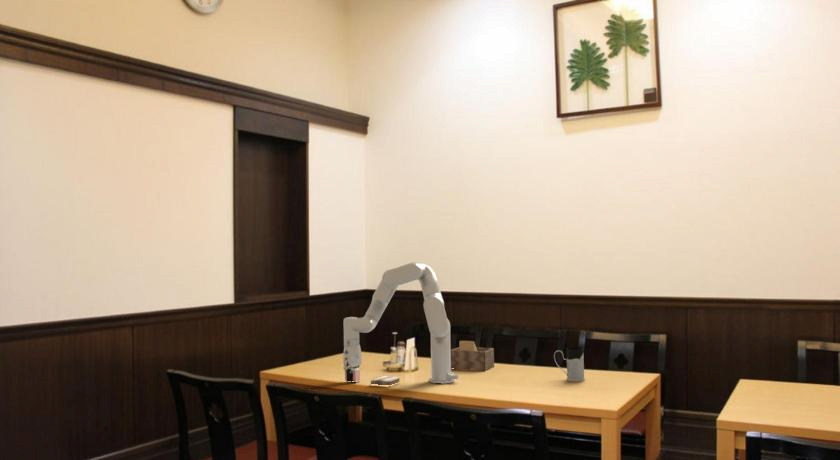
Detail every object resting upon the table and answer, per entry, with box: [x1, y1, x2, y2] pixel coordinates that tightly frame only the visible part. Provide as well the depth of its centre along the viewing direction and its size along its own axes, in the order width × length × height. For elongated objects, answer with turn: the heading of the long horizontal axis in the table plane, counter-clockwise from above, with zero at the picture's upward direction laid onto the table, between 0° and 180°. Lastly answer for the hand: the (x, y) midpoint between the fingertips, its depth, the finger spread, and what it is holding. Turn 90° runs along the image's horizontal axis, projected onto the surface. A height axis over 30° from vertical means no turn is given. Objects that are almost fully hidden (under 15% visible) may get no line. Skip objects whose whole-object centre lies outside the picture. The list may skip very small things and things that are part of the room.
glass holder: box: [553, 346, 586, 382], centre depth 319 cm, size 9×14×15 cm, turn 78°
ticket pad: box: [370, 375, 401, 385], centre depth 316 cm, size 10×10×3 cm
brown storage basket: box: [451, 347, 495, 372], centre depth 357 cm, size 20×14×10 cm
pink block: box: [344, 367, 361, 382], centre depth 324 cm, size 6×4×6 cm, turn 64°
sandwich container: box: [458, 340, 478, 371], centre depth 358 cm, size 9×15×15 cm, turn 152°
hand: (352, 380), depth 324 cm, fingers closed on pink block, 4 cm apart
